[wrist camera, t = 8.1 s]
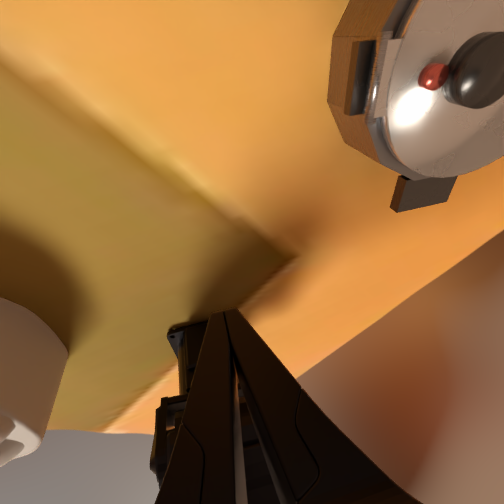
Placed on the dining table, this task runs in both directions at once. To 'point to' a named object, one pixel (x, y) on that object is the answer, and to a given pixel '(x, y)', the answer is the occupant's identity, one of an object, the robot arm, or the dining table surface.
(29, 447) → the lumpy-topped squat cylinder
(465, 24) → the lid
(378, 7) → the pot
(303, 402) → the robot arm
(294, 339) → the dining table surface
